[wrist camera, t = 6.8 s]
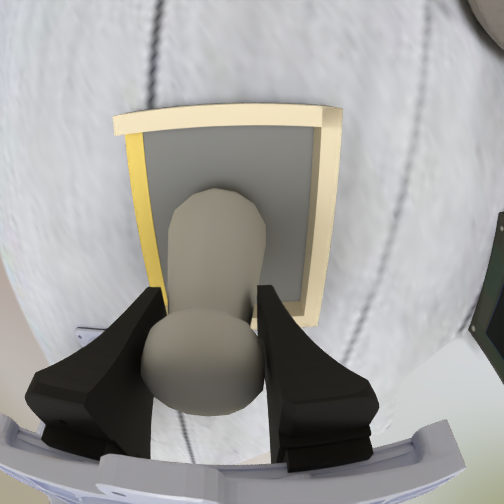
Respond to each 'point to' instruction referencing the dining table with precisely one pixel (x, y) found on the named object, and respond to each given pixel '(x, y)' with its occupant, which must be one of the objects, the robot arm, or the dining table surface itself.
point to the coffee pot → (490, 18)
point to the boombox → (492, 306)
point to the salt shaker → (209, 308)
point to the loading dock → (242, 184)
